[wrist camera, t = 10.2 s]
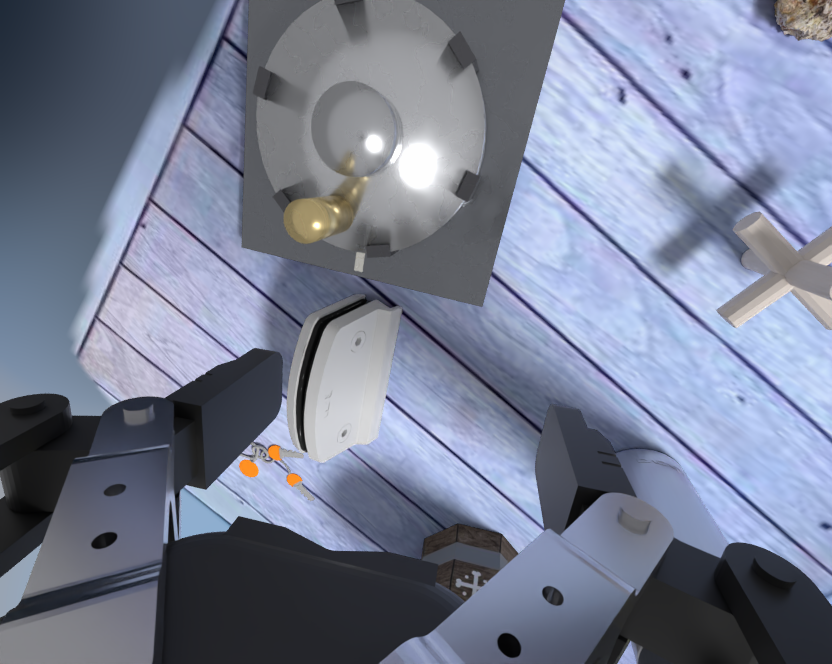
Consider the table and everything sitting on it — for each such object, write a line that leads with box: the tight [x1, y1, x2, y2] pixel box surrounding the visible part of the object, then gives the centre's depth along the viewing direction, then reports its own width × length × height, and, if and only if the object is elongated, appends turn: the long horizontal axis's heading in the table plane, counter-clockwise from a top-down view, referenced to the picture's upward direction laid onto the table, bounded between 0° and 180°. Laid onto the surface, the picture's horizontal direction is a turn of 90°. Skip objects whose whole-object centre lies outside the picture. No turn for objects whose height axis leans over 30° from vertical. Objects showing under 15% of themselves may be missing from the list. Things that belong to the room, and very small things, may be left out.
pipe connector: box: [716, 212, 832, 330], centre depth 29 cm, size 10×10×10 cm
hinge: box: [287, 294, 402, 463], centre depth 41 cm, size 17×5×10 cm, turn 169°
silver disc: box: [252, 0, 487, 258], centre depth 30 cm, size 18×19×9 cm
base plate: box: [242, 0, 565, 307], centre depth 35 cm, size 24×24×2 cm
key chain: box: [239, 442, 315, 501], centre depth 52 cm, size 13×7×1 cm, turn 73°
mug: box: [421, 524, 518, 602], centre depth 44 cm, size 20×14×15 cm
